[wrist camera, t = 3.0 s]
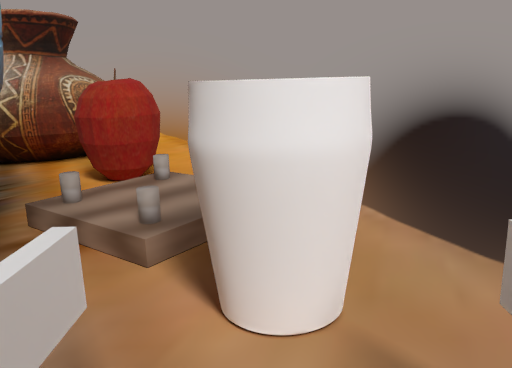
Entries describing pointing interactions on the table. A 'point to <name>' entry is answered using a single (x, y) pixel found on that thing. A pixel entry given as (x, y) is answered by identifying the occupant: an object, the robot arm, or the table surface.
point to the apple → (118, 127)
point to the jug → (39, 87)
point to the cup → (280, 193)
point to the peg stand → (128, 214)
